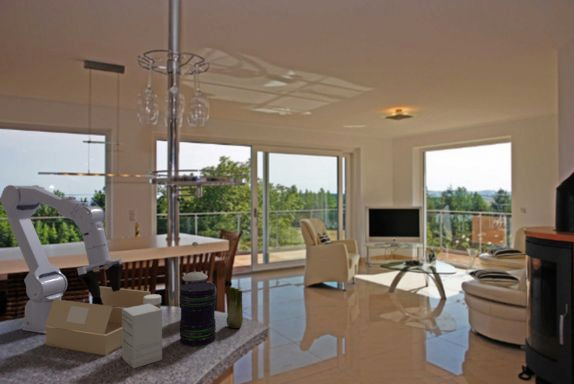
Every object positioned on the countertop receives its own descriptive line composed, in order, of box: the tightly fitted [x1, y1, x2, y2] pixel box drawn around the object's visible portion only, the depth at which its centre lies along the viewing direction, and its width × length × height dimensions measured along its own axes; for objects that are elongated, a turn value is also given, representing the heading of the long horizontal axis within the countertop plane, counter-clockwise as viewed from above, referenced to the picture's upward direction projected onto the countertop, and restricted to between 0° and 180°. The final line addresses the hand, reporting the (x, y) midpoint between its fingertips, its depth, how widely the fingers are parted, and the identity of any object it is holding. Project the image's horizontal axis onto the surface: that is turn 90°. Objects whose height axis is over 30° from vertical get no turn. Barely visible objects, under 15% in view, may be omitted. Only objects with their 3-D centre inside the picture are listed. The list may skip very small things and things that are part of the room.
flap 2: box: [99, 285, 152, 309], centre depth 125 cm, size 19×7×1 cm
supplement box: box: [121, 304, 163, 369], centre depth 101 cm, size 7×7×13 cm
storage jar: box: [179, 281, 217, 348], centre depth 115 cm, size 10×10×15 cm
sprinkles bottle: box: [143, 293, 162, 309], centre depth 110 cm, size 5×5×14 cm
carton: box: [45, 306, 123, 356], centre depth 116 cm, size 20×20×5 cm
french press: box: [178, 241, 217, 323], centre depth 132 cm, size 10×12×25 cm
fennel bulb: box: [226, 286, 244, 329], centre depth 125 cm, size 6×5×12 cm
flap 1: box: [45, 299, 114, 335], centre depth 108 cm, size 19×7×1 cm
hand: (107, 294), depth 117 cm, fingers open, 7 cm apart
